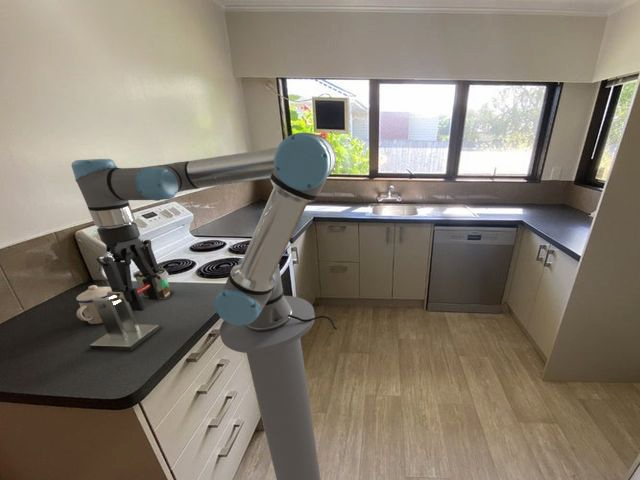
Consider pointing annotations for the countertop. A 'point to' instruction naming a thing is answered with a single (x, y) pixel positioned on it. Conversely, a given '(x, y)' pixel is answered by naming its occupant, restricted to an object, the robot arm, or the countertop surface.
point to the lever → (117, 299)
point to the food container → (160, 280)
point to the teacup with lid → (91, 303)
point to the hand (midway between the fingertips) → (146, 304)
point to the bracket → (120, 325)
